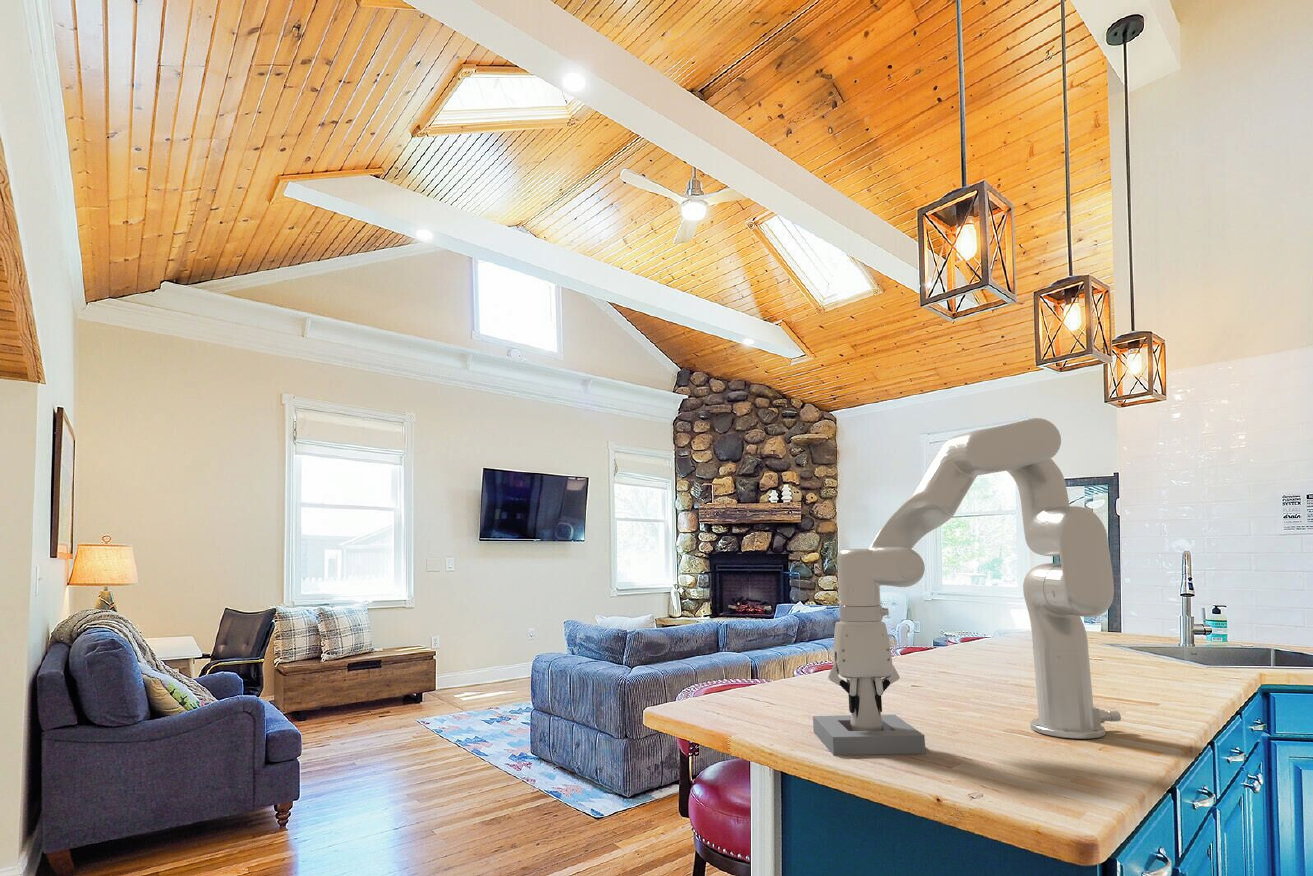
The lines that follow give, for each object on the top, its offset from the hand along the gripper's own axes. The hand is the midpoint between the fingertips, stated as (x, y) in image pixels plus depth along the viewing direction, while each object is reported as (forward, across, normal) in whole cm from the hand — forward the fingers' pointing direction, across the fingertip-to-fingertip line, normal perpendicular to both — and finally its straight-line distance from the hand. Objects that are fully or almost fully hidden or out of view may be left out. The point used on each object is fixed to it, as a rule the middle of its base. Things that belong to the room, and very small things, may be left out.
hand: (865, 715), depth 139 cm
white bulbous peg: (+4, 0, 0) cm, 4 cm away
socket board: (+5, 0, 0) cm, 5 cm away
